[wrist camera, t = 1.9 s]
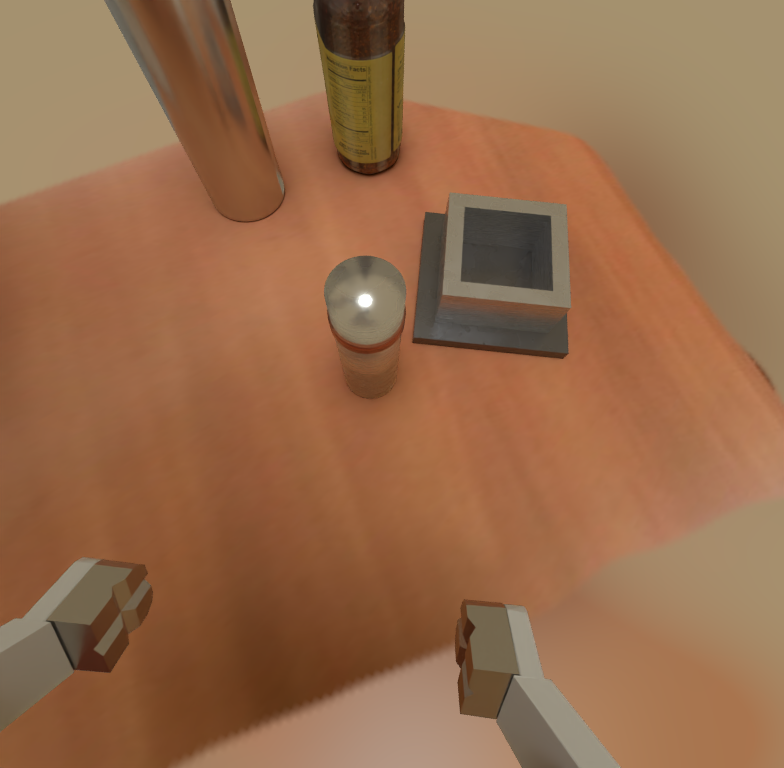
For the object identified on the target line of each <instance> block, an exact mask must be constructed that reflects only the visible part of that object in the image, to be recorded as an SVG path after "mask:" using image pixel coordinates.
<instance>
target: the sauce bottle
mask: <svg viewBox="0 0 784 768" xmlns="http://www.w3.org/2000/svg"><path fill="white" fill-rule="evenodd" d="M313 8H314V17H315V24H316V30H317V37H318V43H319V49H320V55H321V61H322V67H323V73H324V80H325V87H326V94H327V101H328V107H329V113H330V120H331V126H332V133H333V139H334V143H335V146H336V148H337V150H338V154H339V156H340V158H341V160H342V162H343V163H344V164H345V165H346V166H347V167H349V168H350V169H352V170H354V171H357V172H360V173H364V174H373V173H377V172H380V171H383V170H385V169H387V168H389V167H390V166H392V165H393V164H394V163H395V161H396V160H397V158H398V155H399V150H400V142H401V139H402V118H403V77H404V46H405V43H404V42H405V23H404V0H314V4H313Z"/></svg>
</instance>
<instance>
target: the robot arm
mask: <svg viewBox="0 0 784 768" xmlns="http://www.w3.org/2000/svg"><path fill="white" fill-rule="evenodd" d="M147 574H148V573H147V570H146V567H145V565H143V564H135V563H127V562H119V561H111V560H104V559H96V558H87V557H82V558H81V559H79V560H77V561H76V562H74V563H73V564H72V565H71V566H70V567H69V568H68V570H67V571H66V572H65V573H64V574H63V575H62V576H61V577H60V578H59V579H58V580H57V581H56V582H55V584H54V585H53V586H52V587H51V588H50V589H49V590H48V591H47V592H46V593H45V594H44V595H43V596H42V597H41V599H40V600H39V601H38V602H37V603H36V604H35V605H34V606H33V607H32V608H31V609H30V610H29V611H28V613H27V614H26V615H25V616H24V617H23V618H15V619H13V620H11V621H10V622H8V623H6V624H4V625H2V626H1V627H0V732H1V731H2V730H3V729H4V728H6V727H7V726H8V725H9V724H11V723H12V722H13V721H14V720H16V719H17V718H18V717H19V716H21V715H22V714H23V713H24V712H25V711H27V710H28V709H29V708H30V707H32V706H33V705H34V704H35V703H37V702H38V701H39V700H40V699H42V698H43V697H44V696H45V695H47V694H48V693H49V692H50V691H51V690H53V689H54V688H55V687H56V686H58V685H59V684H60V683H61V682H63V681H64V680H65V679H66V678H68V677H69V676H70V675H71V674H73V673H74V670H83V671H95V672H106V673H110V672H111V671H112V669H113V668H114V666H115V664H116V663H117V661H118V660H119V658H120V657H121V655H122V654H123V652H124V650H125V649H126V647H127V646H128V644H129V633H130V632H132V631H133V630H135V629H136V628H138V627H139V626H140V625H141V624H142V622H143V621H144V619H145V617H146V616H147V614H148V612H149V609H150V606H151V603H152V598H153V591H152V587H151V585H150V584H149V583H148V582H147V581H146V580H144V578H145V577H146V575H147ZM455 653H456V662H457V664H458V665H459V667H460V668H461V670H460V675H459V679H458V693H459V705H460V714H464V715H471V716H479V717H485V718H491V719H497V724H498V725H499V727H500V729H501V731H502V733H503V734H504V736H505V738H506V740H507V742H508V743H509V745H510V747H511V749H512V751H513V752H514V754H515V756H516V758H517V759H518V761H519V763H520V765H521V767H522V768H621V767H620V766H619V764H618V763H617V762H616V761H615V760H614V758H613V757H612V756H611V754H610V753H609V752H608V751H607V749H606V748H605V747H604V746H603V744H602V743H601V742H600V741H599V739H598V738H597V737H596V736H595V734H594V733H593V732H592V730H591V729H590V728H589V727H588V726H587V724H586V723H585V722H584V720H583V719H582V718H581V717H580V715H579V714H578V713H577V712H576V710H575V709H574V708H573V707H572V705H571V704H570V703H569V702H568V700H567V699H566V698H565V697H564V695H563V694H562V693H561V692H560V690H559V689H558V688H557V686H556V685H555V684H554V683H553V682H552V680H551V679H545V678H544V674H543V671H542V667H541V663H540V660H539V655H538V651H537V648H536V644H535V640H534V636H533V632H532V628H531V624H530V620H529V616H528V613H527V610H526V609H525V607H524V606H520V605H509V604H502V603H496V602H485V601H474V600H463V602H462V605H461V618H460V619H458V621H457V626H456V635H455Z"/></svg>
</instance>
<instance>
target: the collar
mask: <svg viewBox="0 0 784 768" xmlns="http://www.w3.org/2000/svg"><path fill="white" fill-rule="evenodd" d="M570 309H571V296H570V274H569V251H568V229H567V206H566V204H556V203H547V202H537V201H527V200H517V199H507V198H498V197H488V196H478V195H468V194H459V193H450V194H449V198H448V203H447V208H446V213H445V214H439V213H429V212H425V219H424V228H423V239H422V250H421V260H420V271H419V281H418V292H417V302H416V313H415V324H414V334H413V343H421V344H430V345H440V346H449V347H459V348H468V349H478V350H487V351H497V352H506V353H516V354H525V355H535V356H544V357H554V358H564V357H565V356H566V355H567V354H568V331H567V312H568V311H569V310H570Z"/></svg>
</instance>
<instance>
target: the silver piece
mask: <svg viewBox="0 0 784 768" xmlns="http://www.w3.org/2000/svg"><path fill="white" fill-rule="evenodd" d="M105 2H106V4H107V6H108V8H109V10H110V12H111V14H112V16H113V17H114V19H115V21H116V23H117V25H118V27H119V29H120V30H121V32H122V34H123V36H124V38H125V40H126V41H127V43H128V45H129V47H130V49H131V51H132V53H133V55H134V57H135V58H136V60H137V62H138V64H139V66H140V67H141V69H142V71H143V73H144V75H145V77H146V79H147V81H148V82H149V84H150V86H151V88H152V90H153V92H154V94H155V95H156V98H157V99H158V101H159V103H160V105H161V107H162V109H163V110H164V112H165V114H166V116H167V118H168V120H169V122H170V124H171V126H172V127H173V129H174V131H175V133H176V135H177V137H178V139H179V140H180V142H181V144H182V146H183V148H184V150H185V152H186V154H187V155H188V157H189V159H190V161H191V163H192V165H193V167H194V168H195V170H196V172H197V174H198V176H199V178H200V180H201V182H202V183H203V185H204V187H205V189H206V191H207V193H208V195H209V196H210V198H211V200H212V202H213V204H214V206H215V208H216V209H217V210H218V211H219V212H220V213H221V214H222V215H224V216H226V217H227V218H229V219H232V220H236V221H244V222H249V221H255V220H259V219H262V218H264V217H267V216H268V215H270V214H271V213H273V212H274V211H275V210H276V209H277V208H278V207H279V206H280V204H281V202H282V200H283V198H284V192H285V188H284V182H283V179H282V176H281V172H280V169H279V165H278V162H277V158H276V155H275V152H274V148H273V145H272V141H271V138H270V135H269V131H268V128H267V124H266V121H265V117H264V114H263V111H262V107H261V104H260V101H259V97H258V94H257V90H256V87H255V83H254V80H253V76H252V73H251V69H250V66H249V63H248V59H247V56H246V52H245V49H244V46H243V42H242V39H241V35H240V32H239V28H238V25H237V22H236V18H235V15H234V11H233V8H232V4H231V1H230V0H105Z"/></svg>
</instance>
